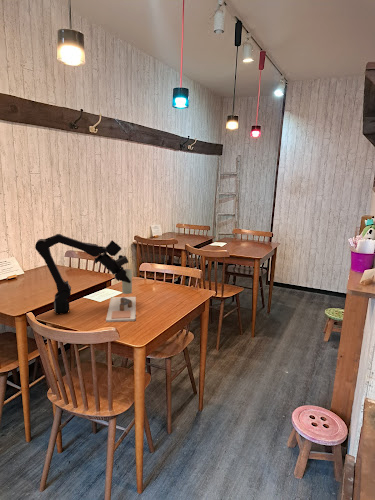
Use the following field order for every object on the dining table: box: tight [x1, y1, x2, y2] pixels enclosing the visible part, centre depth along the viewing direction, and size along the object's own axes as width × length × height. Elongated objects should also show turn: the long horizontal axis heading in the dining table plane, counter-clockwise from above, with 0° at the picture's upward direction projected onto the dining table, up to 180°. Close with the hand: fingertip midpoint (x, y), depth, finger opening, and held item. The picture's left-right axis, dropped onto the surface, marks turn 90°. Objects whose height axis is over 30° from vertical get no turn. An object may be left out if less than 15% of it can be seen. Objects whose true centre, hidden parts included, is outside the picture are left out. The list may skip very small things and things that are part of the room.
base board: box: [105, 296, 137, 323], centre depth 181 cm, size 34×14×1 cm, turn 8°
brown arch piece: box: [120, 296, 132, 311], centre depth 182 cm, size 8×11×4 cm
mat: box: [111, 311, 131, 319], centre depth 170 cm, size 9×9×1 cm
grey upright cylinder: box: [121, 268, 133, 295], centre depth 185 cm, size 5×5×12 cm
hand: (129, 281), depth 185 cm, fingers closed on grey upright cylinder, 5 cm apart
